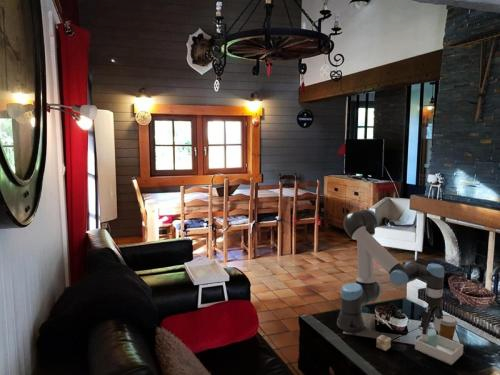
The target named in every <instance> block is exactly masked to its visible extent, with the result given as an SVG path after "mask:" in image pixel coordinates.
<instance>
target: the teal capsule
mask: <svg viewBox="0 0 500 375" xmlns="http://www.w3.org/2000/svg"><path fill="white" fill-rule="evenodd" d="M437 335H438V334H436V333H435V332H431V331H429V332H428V341H426V344H428V345H430V346H433V347H435V348H437Z"/></svg>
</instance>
